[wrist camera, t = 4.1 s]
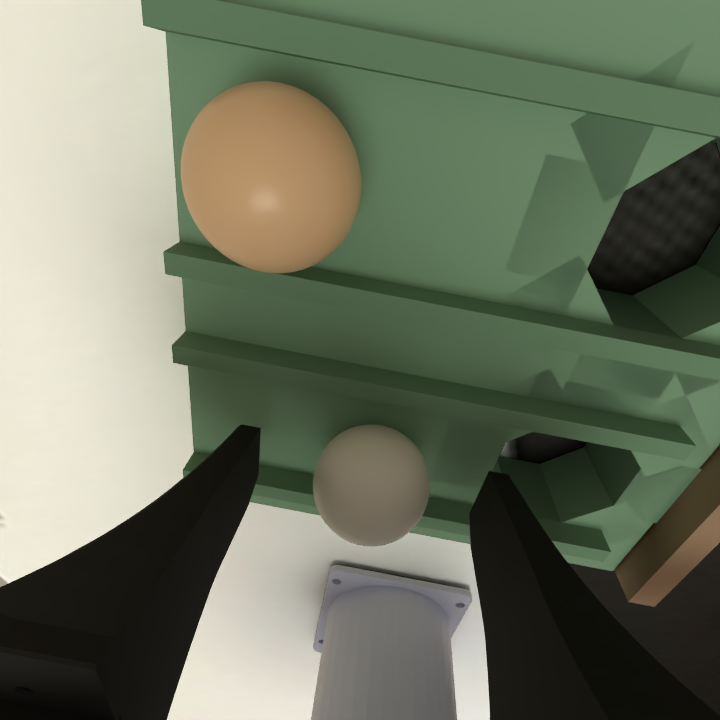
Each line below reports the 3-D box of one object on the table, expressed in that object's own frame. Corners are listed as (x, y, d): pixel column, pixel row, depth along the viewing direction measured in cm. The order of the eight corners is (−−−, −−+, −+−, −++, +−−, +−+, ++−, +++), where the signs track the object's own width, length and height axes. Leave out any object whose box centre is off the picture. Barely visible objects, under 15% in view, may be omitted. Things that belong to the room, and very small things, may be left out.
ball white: (292, 502, 14) (373, 451, 16) (358, 592, 12) (442, 522, 14) (287, 435, 12) (382, 384, 14) (367, 534, 10) (466, 458, 12)
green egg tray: (592, 510, 19) (629, 594, 16) (224, 440, 19) (186, 510, 16) (902, 70, 10) (1131, 56, 7) (217, -62, 10) (128, -138, 7)
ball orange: (355, 257, 11) (335, 315, 8) (222, 231, 11) (153, 280, 8) (380, 101, 9) (366, 101, 6) (221, 70, 9) (129, 54, 6)
